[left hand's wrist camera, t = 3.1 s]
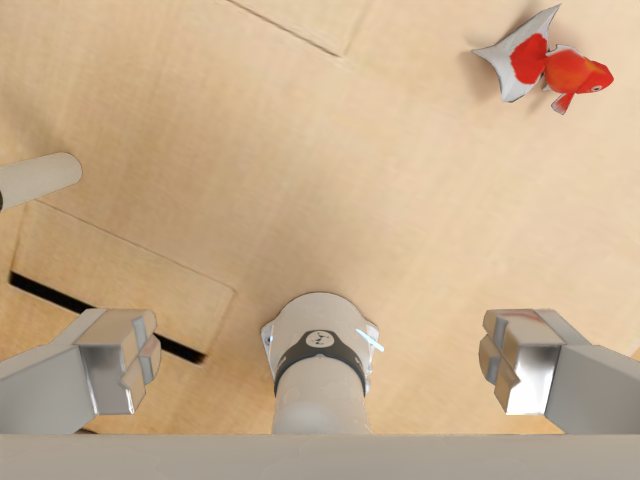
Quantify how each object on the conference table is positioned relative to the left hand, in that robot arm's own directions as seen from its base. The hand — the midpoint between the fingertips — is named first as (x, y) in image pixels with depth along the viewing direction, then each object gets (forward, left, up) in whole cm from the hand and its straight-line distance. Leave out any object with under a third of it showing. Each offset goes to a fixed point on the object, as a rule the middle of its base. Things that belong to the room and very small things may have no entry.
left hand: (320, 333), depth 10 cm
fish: (+8, -26, -48) cm, 55 cm away
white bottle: (-4, +35, -48) cm, 60 cm away
